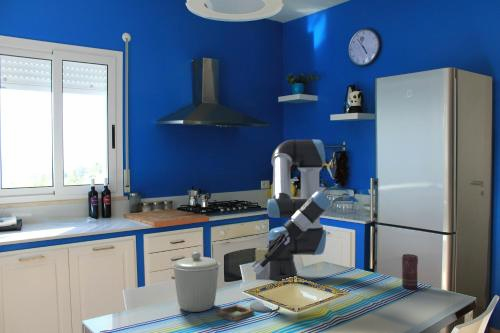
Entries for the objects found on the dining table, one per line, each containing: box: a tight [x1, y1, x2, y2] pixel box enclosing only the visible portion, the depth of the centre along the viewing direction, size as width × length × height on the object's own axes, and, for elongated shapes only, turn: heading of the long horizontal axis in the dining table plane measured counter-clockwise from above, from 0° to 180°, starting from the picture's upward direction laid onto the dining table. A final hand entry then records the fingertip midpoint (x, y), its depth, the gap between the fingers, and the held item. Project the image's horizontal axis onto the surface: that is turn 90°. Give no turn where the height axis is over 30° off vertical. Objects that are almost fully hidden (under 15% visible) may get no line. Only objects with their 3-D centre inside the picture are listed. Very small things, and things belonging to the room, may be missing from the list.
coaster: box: [249, 300, 275, 313], centre depth 165 cm, size 11×11×1 cm
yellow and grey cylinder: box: [254, 247, 270, 281], centre depth 165 cm, size 5×5×11 cm
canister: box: [171, 251, 221, 313], centre depth 165 cm, size 18×18×21 cm
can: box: [401, 253, 419, 291], centre depth 188 cm, size 6×6×14 cm
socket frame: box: [216, 304, 255, 322], centre depth 157 cm, size 9×9×2 cm
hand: (254, 269), depth 164 cm, fingers closed on yellow and grey cylinder, 6 cm apart
